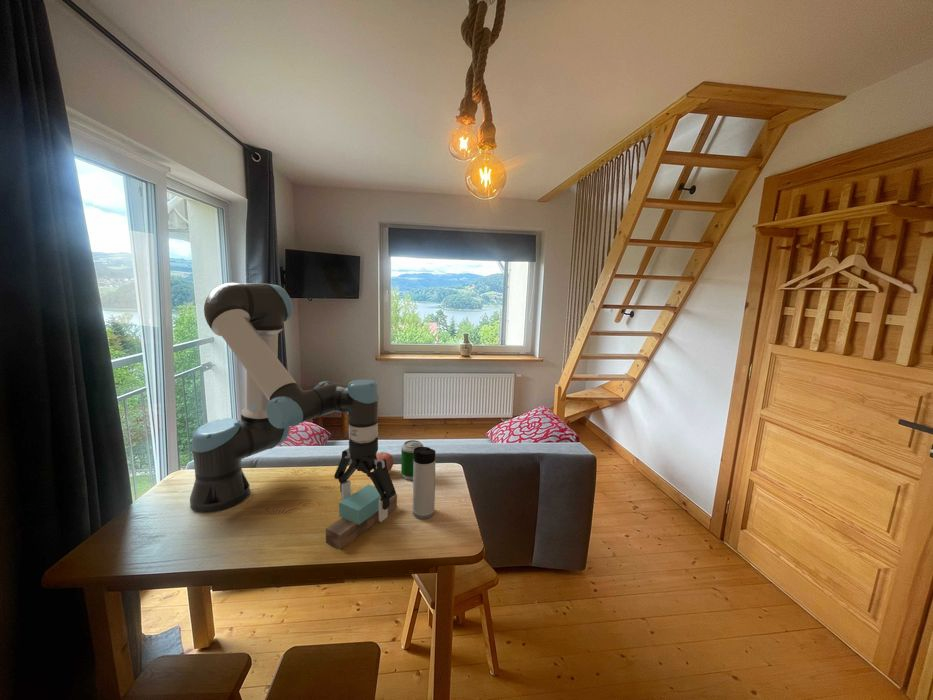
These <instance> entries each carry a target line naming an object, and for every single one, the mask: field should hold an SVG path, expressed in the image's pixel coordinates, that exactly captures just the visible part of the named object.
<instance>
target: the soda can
mask: <svg viewBox="0 0 933 700" xmlns="http://www.w3.org/2000/svg"><path fill="white" fill-rule="evenodd" d="M417 447H425V446H424V444H423V443H422V442H421V441H420V440H416V439H415V440H414V439H412V440H406V441H405V442H404V443H403V444H401V450H400V451H401V458H400V459H401V462H400V463H401V467H400V468H401V469H400V472H401V476H402V477H403V478H404V479H406V480H408V481H413V464H414V449H415V448H417Z"/></svg>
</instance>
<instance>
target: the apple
mask: <svg viewBox="0 0 933 700" xmlns="http://www.w3.org/2000/svg"><path fill="white" fill-rule="evenodd" d="M376 457H377V460H383V459H386V463H387V469H388V472H389V473H390V472H391V470H392V468H393V467H394V464H395V463H394V458H393V455H392V454H390V453H389V452H384V451H381V452H377V453H376ZM372 471H374V469H372Z"/></svg>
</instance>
